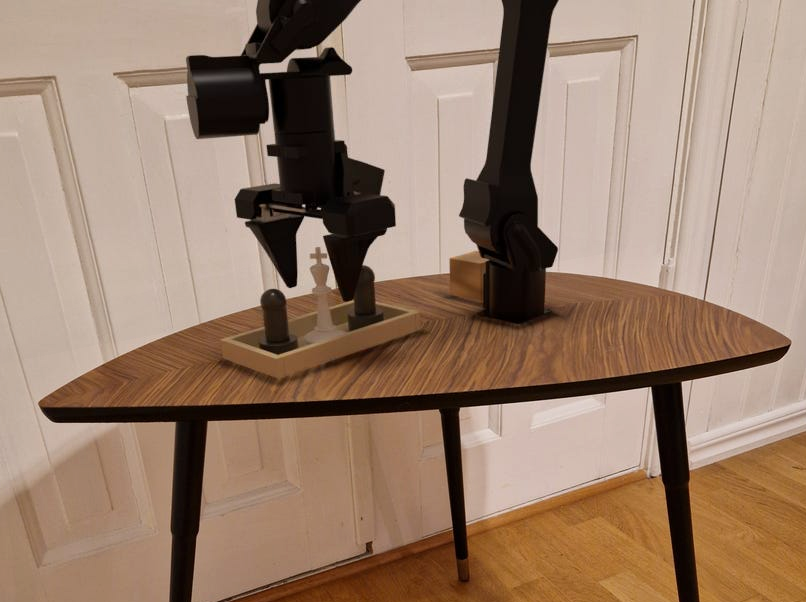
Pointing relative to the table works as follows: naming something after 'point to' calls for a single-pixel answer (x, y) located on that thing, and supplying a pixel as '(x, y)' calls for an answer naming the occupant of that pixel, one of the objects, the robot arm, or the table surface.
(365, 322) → the pawn
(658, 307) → the table surface
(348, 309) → the tray
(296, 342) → the pawn
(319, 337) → the chess piece
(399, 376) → the table surface
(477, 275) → the maple block
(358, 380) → the table surface
